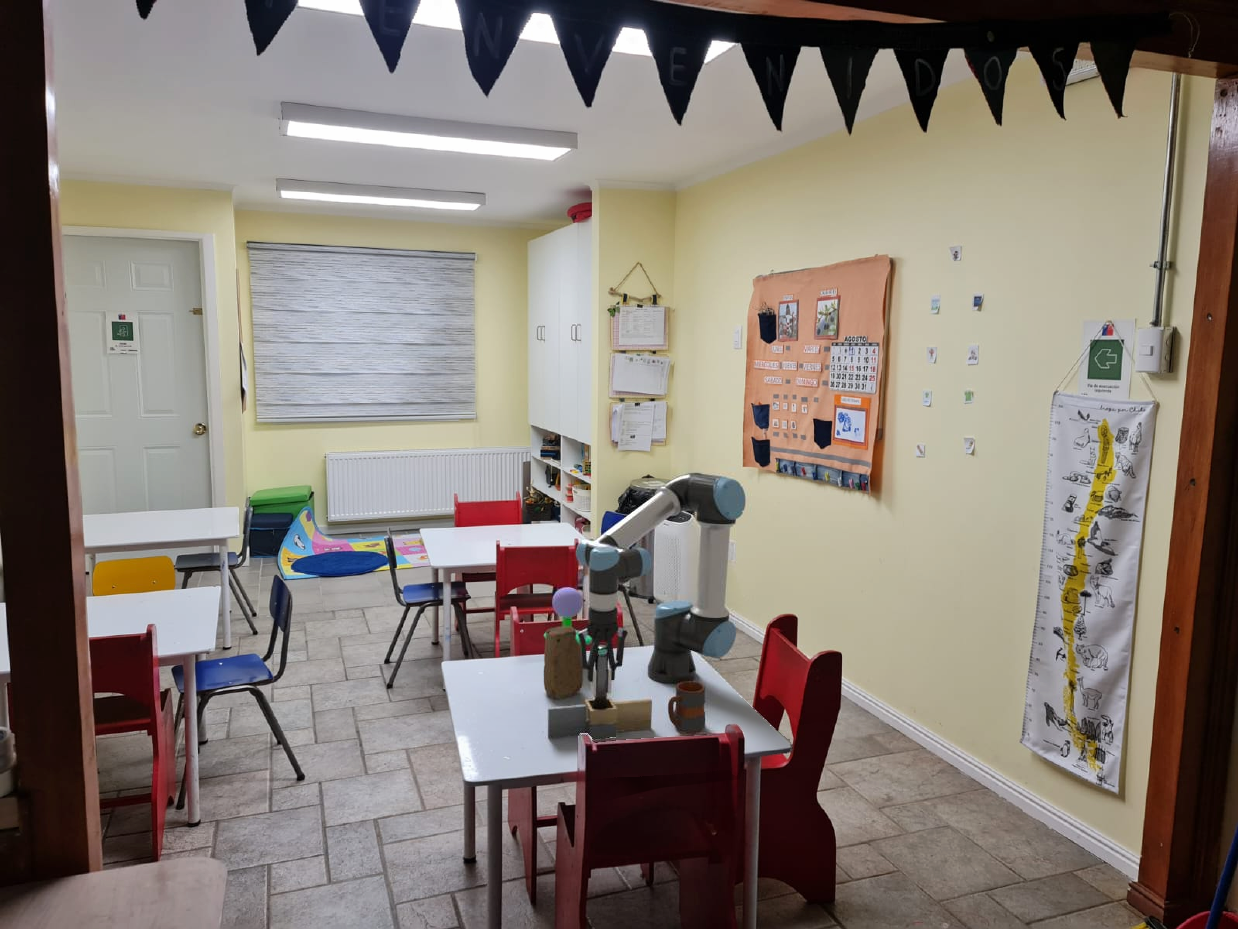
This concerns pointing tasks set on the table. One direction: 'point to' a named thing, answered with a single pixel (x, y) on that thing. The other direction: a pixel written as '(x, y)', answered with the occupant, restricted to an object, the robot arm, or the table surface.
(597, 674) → the pin
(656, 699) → the table surface
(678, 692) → the mug
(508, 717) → the table surface
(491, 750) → the table surface
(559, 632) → the brown rounded block
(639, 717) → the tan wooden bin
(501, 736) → the table surface
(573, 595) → the toy character
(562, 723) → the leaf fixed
